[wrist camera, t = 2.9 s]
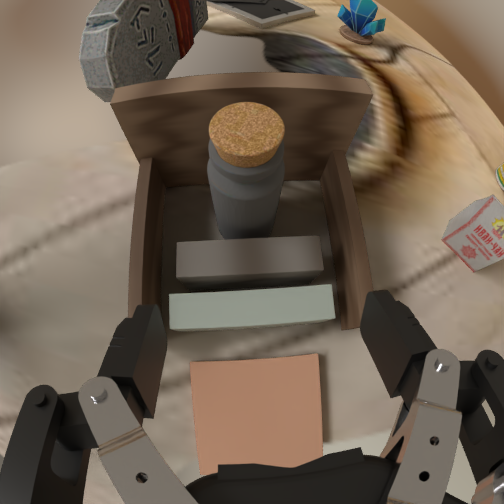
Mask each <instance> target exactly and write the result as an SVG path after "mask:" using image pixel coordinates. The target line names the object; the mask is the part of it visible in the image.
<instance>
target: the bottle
mask: <svg viewBox="0 0 504 504" xmlns="http://www.w3.org/2000/svg"><path fill="white" fill-rule="evenodd" d="M284 134H285V126H284V123H283V120H282V119H281V117H280V116H279V115H278V114H277V113H276V112H275V111H274V110H272V109H271V108H269V107H267V106H265V105H263V104H259V103H254V102H239V103H234V104H231V105H228V106H226V107H224V108H222V109H221V110H219V111H218V112H217V113H216V114H215V115H214V116H213V118H212V119H211V121H210V124H209V135H210V140H209V146H208V150H209V157H210V159H209V161H208V166H207V172H208V180H209V185H210V190H211V195H212V201H213V205H214V210H215V215H216V219H217V224H218V228H219V231H220V233H221V235H222V236H223V238H224V239H225V240H228V239H249V238H268V236H269V235H270V233H271V231H272V228H273V224H274V220H275V216H276V211H277V207H278V203H279V199H280V194H281V189H282V185H283V180H284V174H285V165H284V161H283V155H284V141H283V137H284Z"/></svg>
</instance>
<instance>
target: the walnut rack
mask: <svg viewBox="0 0 504 504" xmlns="http://www.w3.org/2000/svg"><path fill="white" fill-rule="evenodd" d="M372 96H373V93H372V91H371V89H370V87H369V85H368V83H367V81H366V80H363V79H356V78H349V77H340V76H331V75H319V74H305V73H281V72H247V73H224V74H208V75H197V76H187V77H179V78H171V79H164V80H157V81H151V82H145V83H139V84H134V85H129V86H124V87H119V88H116V89H115V91H114V94H113V97H112V100H111V103H110V105H111V107H112V109H113V111H114V113H115V115H116V117H117V119H118V122H119V124H120V126H121V128H122V130H123V132H124V134H125V136H126V138H127V140H128V142H129V144H130V146H131V148H132V150H133V152H134V154H135V156H136V158H137V160H138V162H139V164H140V167H139V174H138V181H137V189H136V197H135V205H134V214H133V225H132V236H131V250H130V267H129V294H128V318H132V317H133V314H134V312H135V309H136V307H137V305H152V304H157V305H158V307H159V310H160V314H161V271H162V238H163V218H164V202H165V189H166V187H176V186H188V185H201V184H209V180H208V172H207V166H208V161H209V159H210V157H209V150H208V146H209V140H210V135H209V124H210V121H211V119H212V118H213V116H214V115H215V114H216V113H217V112H218V111H219V110H221V109H222V108H224V107H226V106H228V105H231V104H234V103H239V102H254V103H259V104H263V105H265V106H267V107H269V108H271V109H272V110H274V111H275V112H276V113H277V114H278V115H279V116H280V117H281V119H282V120H283V123H284V126H285V134H284V137H283V141H284V155H283V161H284V165H285V174H284V180H283V181H291V180H320V184H321V189H322V194H323V200H324V205H325V211H326V216H327V222H328V228H329V235H330V241H331V247H332V254H333V261H334V268H335V276H336V283H337V292H338V300H339V309H340V319H341V329H342V330H347V329H354V328H359V327H360V322H361V317H362V313H363V309H364V304H365V300H366V296H367V293H368V292H370V291H373V286H372V279H371V273H370V266H369V260H368V255H367V249H366V244H365V238H364V233H363V228H362V223H361V218H360V214H359V209H358V205H357V200H356V196H355V192H354V187H353V183H352V179H351V175H350V171H349V168H348V164H347V160H346V156H345V154H346V152H347V150H348V148H349V146H350V144H351V142H352V139H353V137H354V135H355V133H356V131H357V129H358V127H359V125H360V122H361V120H362V118H363V116H364V114H365V112H366V109H367V107H368V105H369V103H370V101H371V98H372Z"/></svg>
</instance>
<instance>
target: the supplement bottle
mask: <svg viewBox="0 0 504 504" xmlns="http://www.w3.org/2000/svg"><path fill="white" fill-rule="evenodd" d="M496 179H497V182H498V184H499V186H500V187H501V188H502V190H503V191H504V163H503V164H501V165H500V166H499V167H498V168H497V169H496Z"/></svg>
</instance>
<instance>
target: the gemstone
mask: <svg viewBox="0 0 504 504" xmlns="http://www.w3.org/2000/svg"><path fill="white" fill-rule="evenodd" d="M377 9H378V7H377V5H376V4H375V3H374V2H373V1H372V0H350V10H351V12H350V11H348V10H347V9H346V8H345V7H344V6H343V5H342V6H341V8H340V11H339V13H338V17H339V18H340V19H341V20H342V21H343V22H344V23H345V24H346V25H344V26H341V27H340V30H339V31H340V33H341V35H342V36H344V37H345V38H346V39H348V40H350V41H353V42H355V43H359V44H371V43H372V41H373V37H372V36H371V35H374V34H375V33H377V32H381V31H384V26H385V20H386V18H385V19H380V20H376V21H373V19H374V18H375V15H376V12H377Z"/></svg>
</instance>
